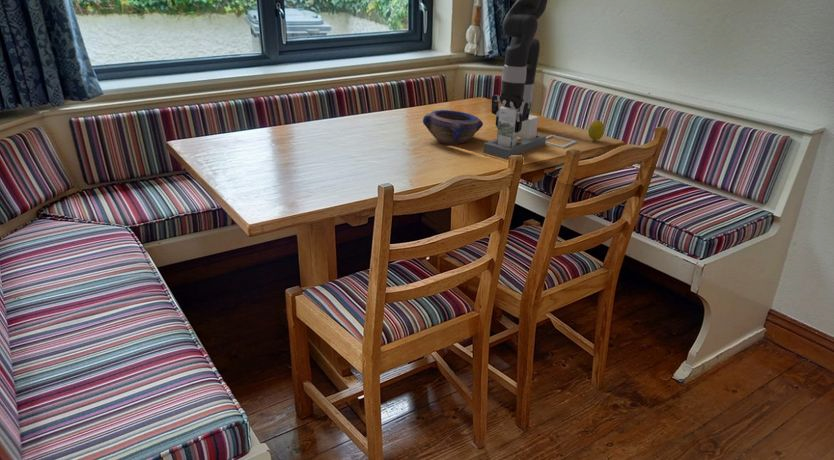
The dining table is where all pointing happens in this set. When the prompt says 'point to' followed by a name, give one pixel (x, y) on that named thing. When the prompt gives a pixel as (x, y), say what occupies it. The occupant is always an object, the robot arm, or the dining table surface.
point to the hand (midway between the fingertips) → (507, 129)
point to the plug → (529, 128)
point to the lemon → (596, 130)
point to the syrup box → (506, 127)
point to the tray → (562, 139)
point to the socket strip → (519, 149)
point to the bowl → (452, 126)
